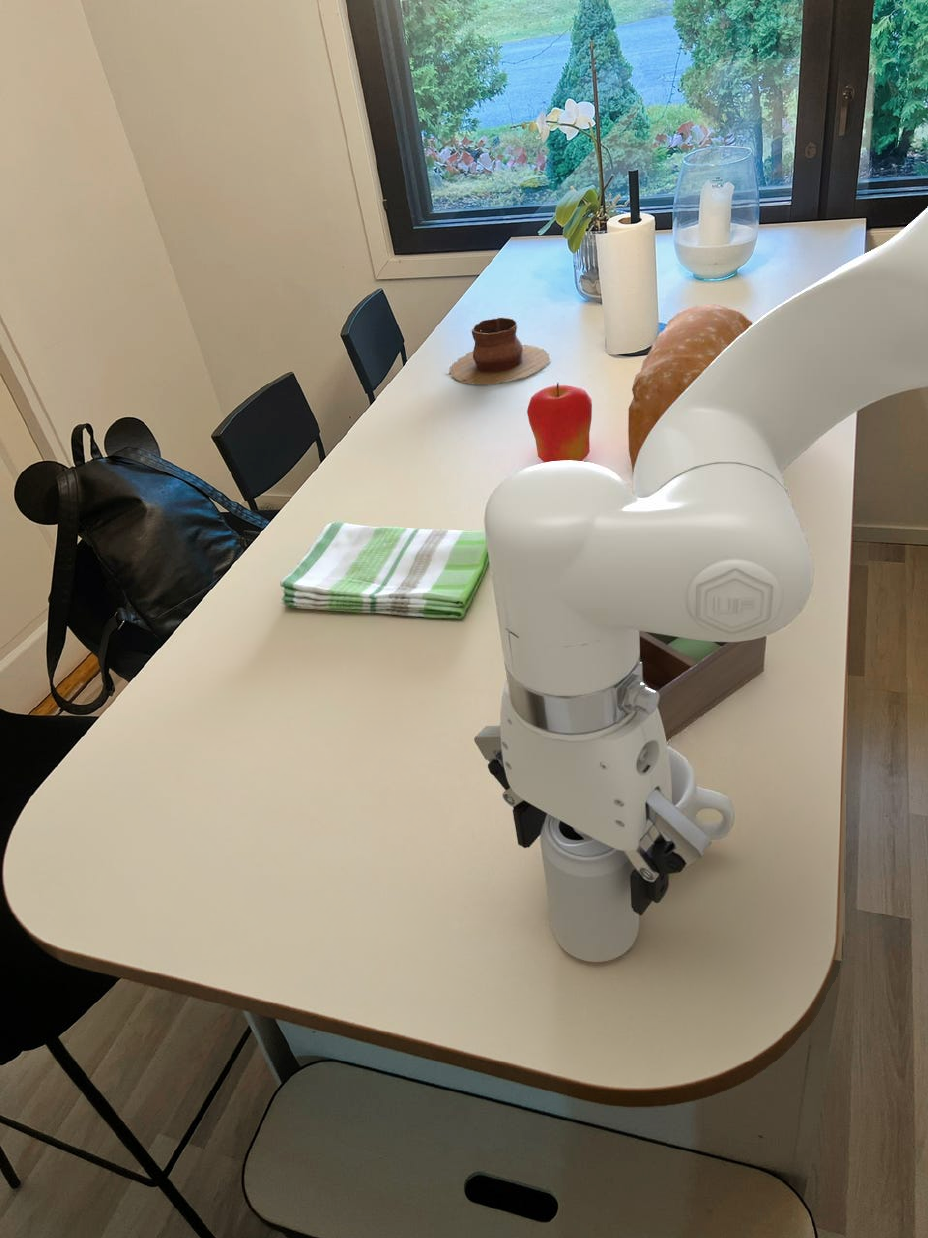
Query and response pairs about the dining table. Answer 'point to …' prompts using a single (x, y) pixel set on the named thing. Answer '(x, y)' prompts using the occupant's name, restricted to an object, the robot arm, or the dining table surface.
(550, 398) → the apple
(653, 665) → the wooden compartment box
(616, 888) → the beverage can
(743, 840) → the dining table surface
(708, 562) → the robot arm
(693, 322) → the bread
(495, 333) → the ceramic pot
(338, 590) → the dish towel
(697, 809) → the cup
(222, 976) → the dining table surface
